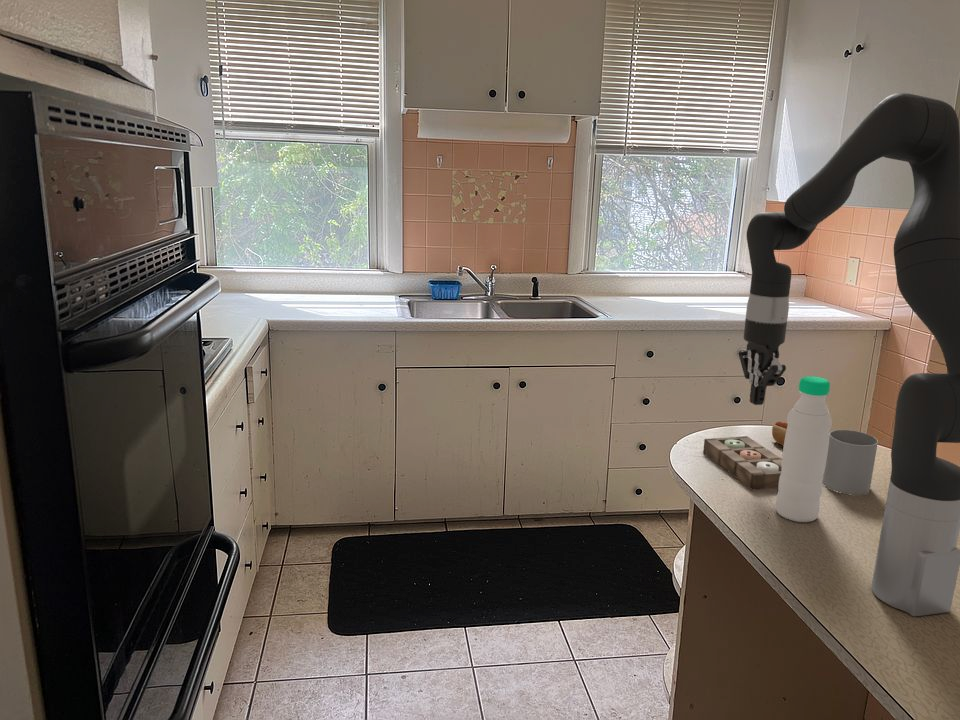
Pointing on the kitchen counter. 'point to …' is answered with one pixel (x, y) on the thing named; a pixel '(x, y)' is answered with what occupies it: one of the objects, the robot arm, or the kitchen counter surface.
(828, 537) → the kitchen counter surface
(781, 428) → the food
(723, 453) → the wooden compartment tray
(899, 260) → the robot arm
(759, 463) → the button one
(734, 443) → the button two
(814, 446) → the water bottle
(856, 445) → the cup
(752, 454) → the button three
